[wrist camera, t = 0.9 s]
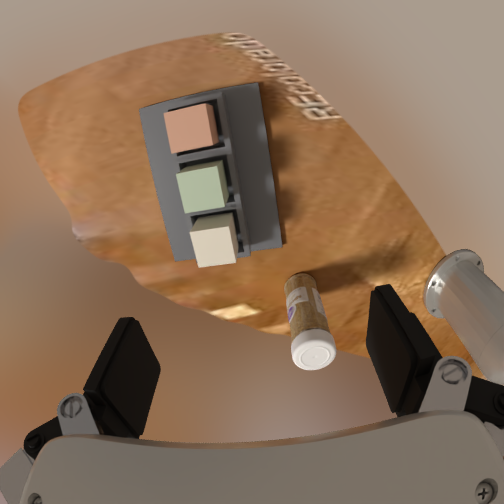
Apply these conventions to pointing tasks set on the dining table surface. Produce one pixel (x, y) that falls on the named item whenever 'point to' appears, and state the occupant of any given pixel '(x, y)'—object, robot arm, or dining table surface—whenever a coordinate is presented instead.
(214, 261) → the cream button
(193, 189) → the green button
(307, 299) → the sprinkles bottle
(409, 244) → the dining table surface
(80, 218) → the dining table surface
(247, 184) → the button panel
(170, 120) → the terracotta button
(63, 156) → the dining table surface
